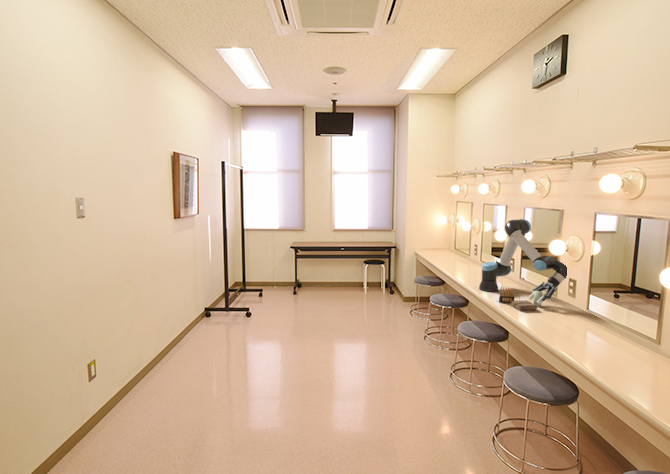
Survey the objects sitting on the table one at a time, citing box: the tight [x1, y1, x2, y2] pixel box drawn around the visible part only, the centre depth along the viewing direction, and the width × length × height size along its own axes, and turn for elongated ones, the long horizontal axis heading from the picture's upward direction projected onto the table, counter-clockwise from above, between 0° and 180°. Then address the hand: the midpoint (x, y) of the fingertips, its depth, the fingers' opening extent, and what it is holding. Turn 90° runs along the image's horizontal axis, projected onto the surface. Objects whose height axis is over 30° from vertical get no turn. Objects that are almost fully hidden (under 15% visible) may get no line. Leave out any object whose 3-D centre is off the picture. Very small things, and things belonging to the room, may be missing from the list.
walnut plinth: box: [510, 300, 538, 312], centre depth 259 cm, size 12×12×4 cm
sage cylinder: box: [533, 291, 543, 308], centre depth 263 cm, size 5×5×11 cm
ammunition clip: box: [498, 286, 515, 304], centre depth 272 cm, size 11×2×12 cm, turn 82°
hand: (533, 301), depth 263 cm, fingers open, 10 cm apart
